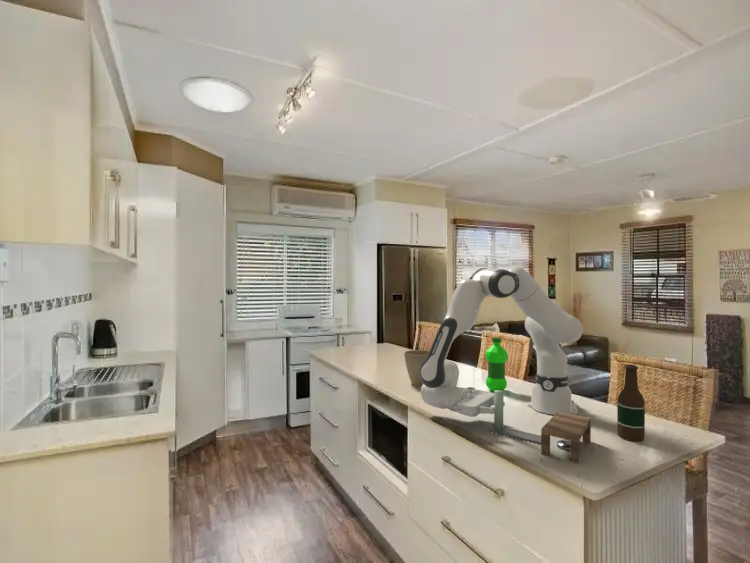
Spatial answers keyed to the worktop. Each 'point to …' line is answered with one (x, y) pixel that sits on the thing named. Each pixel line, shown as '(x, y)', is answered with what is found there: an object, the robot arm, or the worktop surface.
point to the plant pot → (415, 364)
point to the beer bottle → (631, 408)
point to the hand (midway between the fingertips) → (499, 407)
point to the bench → (566, 432)
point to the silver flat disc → (564, 445)
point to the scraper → (509, 432)
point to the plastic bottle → (496, 366)
